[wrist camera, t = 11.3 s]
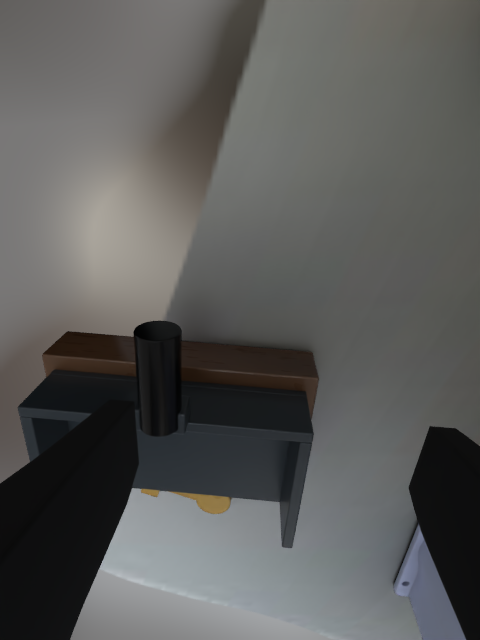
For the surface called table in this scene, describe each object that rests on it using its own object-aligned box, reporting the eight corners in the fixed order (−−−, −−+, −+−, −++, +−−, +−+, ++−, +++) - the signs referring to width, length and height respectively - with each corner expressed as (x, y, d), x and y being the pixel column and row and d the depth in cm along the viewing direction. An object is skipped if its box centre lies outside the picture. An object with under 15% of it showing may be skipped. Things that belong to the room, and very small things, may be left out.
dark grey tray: (288, 497, 20) (294, 576, 16) (72, 476, 20) (28, 549, 17) (320, 307, 15) (338, 356, 12) (39, 284, 16) (-32, 325, 12)
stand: (294, 460, 22) (297, 494, 20) (83, 440, 23) (63, 473, 20) (312, 351, 19) (319, 378, 17) (67, 330, 19) (41, 354, 17)
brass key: (223, 519, 24) (224, 511, 24) (235, 496, 23) (235, 488, 24) (140, 492, 24) (143, 485, 24) (148, 468, 23) (151, 460, 23)
